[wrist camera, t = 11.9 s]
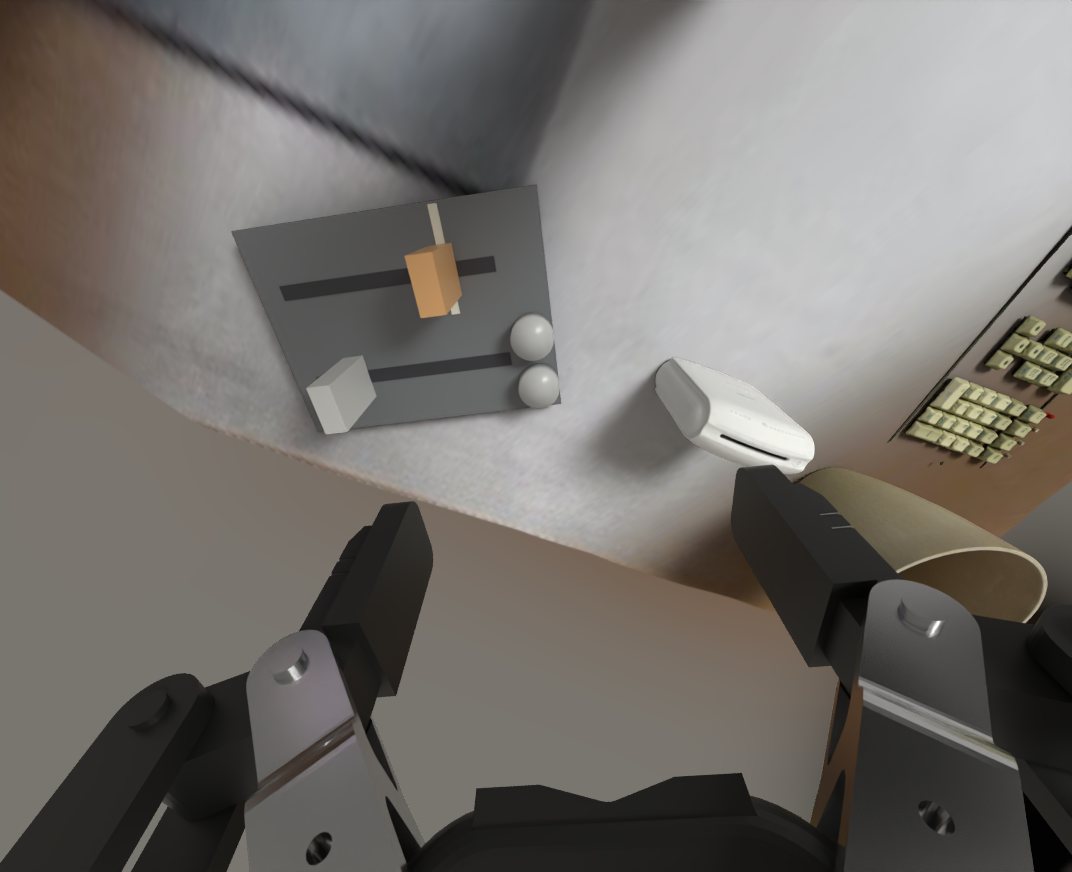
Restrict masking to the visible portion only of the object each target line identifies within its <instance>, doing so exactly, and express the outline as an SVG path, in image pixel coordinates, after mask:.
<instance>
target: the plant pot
mask: <svg viewBox="0 0 1072 872" xmlns="http://www.w3.org/2000/svg"><path fill="white" fill-rule="evenodd" d="M799 483H802V484H803V485H805V486H807V487H809V488H811V489H812V490H814V491H816V492H818V493H819V494H821V495H823V496H824V497H825V498H826V499H827V500H828V501H829V502H830V503H831V505H832V506H833V507H834V508H835V509H836V510H837V511H838V514H839V515H840V514H841V515H842V516H843V517H844V518H845V519H846V520H847V521H848V522H849V523H850V524H851V528H855V529H856V530H857V532H858V533H859V534H860V535H861V536H862V537H863V538H864V539H865V540H866V541H867V542H868V543H869V544H870V545H871V546H872V547H873V548H874V549H875V550H876V551H877V552H878V553H879V554H880V555H881V556H882V557H883V558H884V560H885V561H886V562H887V563H888V564H889V565H890V566H891V567H892V568H893V569H894V570H895V571H896V572H897V573H898V574H899V575H900V576H901V577H902V578H903V579H904V580H907V581H913V582H917V583H921V584H924V585H927V586H929V587H932V588H934V589H936V590H939V591H941V592H943V593H944V594H946V595H948V596H950V597H951V598H953V599H954V600H956V601H957V602H959V603H960V604H961V605H962V606H963V607H965V608H966V609H967V610H968V611H969V612H970V613H971V614H973V615H978V616H984V617H990V618H996V619H1002V620H1008V621H1014V622H1021V623H1026V622H1027V620H1029V619H1030V618H1031V616H1032V615H1033V614H1034V613H1035V612H1036V611H1037V609H1038V608H1039V606H1040V605H1041V602H1042V601H1043V599H1044V597H1045V594H1046V589H1047V576H1046V573H1045V571H1044V569H1043V567H1042V566H1041V565H1040V564H1039V563H1038V562H1037V561H1036V560H1035V559H1034V558H1032V557H1031V556H1029V555H1027V554H1026V553H1024V552H1022V551H1020V550H1019V549H1017V548H1015V547H1013V546H1012V545H1010V544H1008V543H1006V542H1005V541H1003V540H1001V539H1000V538H998V537H996V536H994V535H992V534H991V533H989V532H987V531H985V530H984V529H982V528H980V527H978V526H976V525H975V524H973V523H971V522H969V521H968V520H966V519H964V518H962V517H960V516H958V515H956V514H954V513H952V512H950V511H948V510H946V509H944V508H942V507H940V506H938V505H936V504H934V503H932V502H930V501H927V500H925V499H923V498H921V497H919V496H916V495H914V494H912V493H910V492H907V491H905V490H903V489H900V488H898V487H896V486H893V485H891V484H888V483H886V482H883V481H880V480H878V479H875V478H872V477H869V476H866V475H863V474H860V473H857V472H854V471H851V470H848V469H844V468H838V467H833V468H825V469H821V470H818V471H816V472H814V473H812V474H810V475H808V476H807V477H805V478H804V479H802V480H801V481H800V482H799Z"/></svg>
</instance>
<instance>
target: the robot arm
mask: <svg viewBox="0 0 1072 872" xmlns="http://www.w3.org/2000/svg"><path fill="white" fill-rule="evenodd" d="M731 525H732V531H733V535H734V538H735V540H736V542H737V544H738V546H739V548H740V549H741V551H742V553H743V555H744V556H745V558H746V560H747V561H748V563H749V565H750V567H751V568H752V570H753V572H754V574H755V575H756V577H757V579H758V580H759V582H760V584H761V586H762V587H763V589H764V591H765V593H766V594H767V596H768V598H769V599H770V601H771V603H772V605H773V606H774V608H775V610H776V611H777V613H778V615H779V616H780V618H781V620H782V622H783V624H784V625H785V627H786V628H787V630H788V632H789V634H790V635H791V637H792V639H793V641H794V643H795V644H796V646H797V648H798V649H799V651H800V653H801V655H802V656H803V658H804V660H805V661H806V663H807V665H808V666H809V667H819V666H832V667H833V669H834V671H835V673H836V674H837V676H838V677H839V680H838V683H837V686H836V690H835V697H834V703H833V709H832V715H831V721H830V727H829V733H828V739H827V745H826V751H825V757H824V763H823V769H822V774H821V780H820V784H819V788H818V791H817V795H816V799H815V802H814V807H813V811H812V815H811V820H810V823H808V822H807V821H805V820H804V819H802V818H801V817H799V816H797V815H796V814H794V813H792V812H790V811H788V810H786V809H784V808H782V807H780V806H778V805H776V804H773V803H770V802H768V801H766V800H763V799H760V798H757V797H753V796H750V795H749V792H748V790H747V787H746V784H745V781H744V778H743V776H742V773H733V774H716V775H699V776H682V777H673V778H671V779H668V780H666V781H663V782H661V783H658V784H656V785H653V786H651V787H648V788H646V789H643V790H641V791H638V792H636V793H633V794H631V795H628V796H626V797H623V798H621V799H618V800H616V801H613V802H603V801H598V800H595V799H591V798H587V797H584V796H580V795H576V794H572V793H568V792H564V791H561V790H557V789H553V788H550V787H546V786H542V785H528V786H513V787H512V786H511V787H493V788H478V789H476V798H475V807H474V811H472V812H470V813H467V814H465V815H463V816H462V817H460V818H458V819H456V820H454V821H453V822H451V823H450V824H448V825H447V826H446V827H444V828H443V829H442V830H440V831H439V832H438V833H436V834H435V835H434V836H433V837H432V838H431V839H430V840H429V841H428V842H427V843H425V842H424V839H423V837H422V835H421V832H420V830H419V828H418V826H417V824H416V822H415V819H414V818H413V815H412V813H411V811H410V809H409V807H408V805H407V803H406V800H405V798H404V796H403V793H402V791H401V788H400V785H399V783H398V780H397V778H396V775H395V773H394V770H393V767H392V765H391V762H390V760H389V757H388V755H387V752H386V749H385V747H384V744H383V742H382V739H381V737H380V734H379V731H378V729H377V727H376V724H375V722H374V719H373V718H372V715H371V714H372V711H373V708H374V704H375V701H376V698H377V697H387V696H396V694H397V690H398V687H399V684H400V680H401V677H402V673H403V669H404V666H405V663H406V659H407V656H408V652H409V648H410V645H411V641H412V638H413V635H414V630H415V628H416V624H417V620H418V617H419V613H420V610H421V606H422V603H423V600H424V596H425V592H426V589H427V586H428V582H429V578H430V575H431V571H432V567H433V552H432V547H431V543H430V540H429V537H428V534H427V531H426V528H425V525H424V522H423V519H422V516H421V513H420V510H419V508H418V505H417V504H416V503H415V502H414V501H412V502H403V503H402V502H401V503H392V504H385V505H383V506H382V508H381V509H380V512H379V513H378V515H377V517H376V519H375V521H374V523H373V525H372V526H365V527H363V528H362V529H361V530H360V531H359V532H358V533H357V534H356V535H355V536H354V537H353V538H352V539H351V540H350V541H349V542H348V544H347V546H346V547H345V549H344V551H343V553H342V555H341V556H340V558H339V559H340V561H339V562H337V564H336V565H335V567H334V569H333V571H332V576H330V577H329V578H328V580H327V582H326V584H325V585H324V587H323V589H322V591H321V593H320V594H319V596H318V598H317V600H316V601H315V603H314V605H313V607H312V609H311V611H310V612H309V614H308V616H307V618H306V620H305V621H304V623H303V625H302V627H301V629H300V630H299V632H296V633H293V634H290V635H288V636H286V637H284V638H283V639H281V640H279V641H278V642H276V643H275V644H273V645H272V646H271V647H270V648H268V649H267V650H266V651H265V652H264V653H263V654H262V656H260V658H259V659H258V660H257V662H256V663H255V664H254V666H253V667H252V669H251V671H249V672H246V673H244V674H241V675H238V676H235V677H233V678H230V679H227V680H225V681H222V682H219V683H217V684H214V685H211V686H208V687H206V688H205V687H203V685H202V684H201V683H200V682H199V681H198V679H197V678H196V677H195V676H193V675H191V674H186V673H183V674H176V675H172V676H168V677H166V678H163V679H161V680H159V681H157V682H155V683H153V684H151V685H150V686H148V687H146V688H145V689H143V690H142V691H140V692H139V693H138V694H136V695H135V696H134V697H132V698H131V699H130V700H129V701H128V702H127V703H126V704H125V705H124V706H123V707H122V708H121V709H120V710H119V711H118V712H117V713H116V714H115V715H114V717H113V718H112V719H111V720H110V721H109V723H108V724H107V725H106V727H105V728H104V729H103V731H102V732H101V733H100V735H99V736H98V737H97V739H96V740H95V741H94V742H93V744H92V745H91V746H90V747H89V749H88V750H87V751H86V753H85V754H84V755H83V757H82V758H81V759H80V760H79V762H78V763H77V764H76V766H75V767H74V768H73V769H72V771H71V772H70V773H69V775H68V776H67V777H66V779H65V780H64V781H63V783H62V784H61V785H60V786H59V788H58V789H57V790H56V792H55V793H54V794H53V795H52V797H51V798H50V799H49V801H48V802H47V803H46V804H45V806H44V807H43V808H42V810H41V811H40V812H39V814H38V815H37V816H36V817H35V819H34V820H33V821H32V823H31V824H30V825H29V827H28V828H27V829H26V830H25V832H24V833H23V834H22V836H21V837H20V838H19V840H18V841H17V842H16V843H15V845H14V846H13V847H12V849H11V850H10V851H9V853H8V854H7V855H6V856H5V858H4V859H3V860H2V862H1V863H0V872H122V870H123V868H124V866H125V864H126V862H127V861H128V859H129V857H130V856H131V854H132V852H133V851H134V849H135V847H136V846H137V844H138V842H139V840H140V838H141V837H142V835H143V833H144V832H145V830H146V828H147V827H148V825H149V823H150V821H151V820H152V818H153V816H154V814H155V813H156V811H157V809H158V808H159V806H160V804H161V802H163V803H164V804H166V805H167V806H168V807H167V809H166V811H165V813H164V814H163V816H162V818H161V820H160V821H159V823H158V825H157V827H156V828H155V830H154V832H153V834H152V836H151V838H150V839H149V841H148V843H147V844H146V846H145V848H144V850H143V851H142V853H141V855H140V857H139V858H138V861H137V862H136V864H135V866H134V868H133V869H132V871H131V872H226V871H227V869H228V867H229V864H230V862H231V860H232V857H233V855H234V853H235V850H236V848H237V845H238V843H239V841H240V838H241V836H242V834H243V831H244V829H246V840H247V851H248V861H249V872H1034V869H1033V862H1032V855H1031V849H1030V842H1029V835H1028V828H1027V821H1026V815H1025V808H1024V802H1023V794H1022V790H1023V791H1024V792H1025V794H1026V795H1027V797H1028V798H1029V799H1030V801H1031V802H1032V803H1033V804H1034V806H1035V807H1036V808H1037V809H1038V811H1039V812H1040V814H1041V815H1042V816H1043V817H1044V819H1045V820H1046V821H1047V823H1048V824H1049V825H1050V827H1051V828H1052V829H1053V831H1055V833H1056V834H1057V836H1058V837H1059V838H1060V840H1061V841H1062V842H1063V844H1064V845H1065V846H1066V848H1067V849H1068V850H1069V851H1070V853H1071V854H1072V605H1056V606H1053V607H1049V608H1048V609H1046V610H1045V611H1044V612H1043V614H1042V615H1041V617H1040V618H1039V619H1038V621H1037V623H1036V624H1035V625H1033V624H1027V623H1021V622H1014V621H1008V620H1002V619H996V618H990V617H984V616H978V615H973V614H971V613H970V612H969V611H968V610H967V609H966V608H965V607H963V606H962V605H961V604H960V603H959V602H957V601H956V600H954V599H953V598H951V597H950V596H948V595H946V594H944V593H943V592H941V591H939V590H936V589H934V588H932V587H929V586H927V585H924V584H921V583H917V582H913V581H907V580H904V579H903V578H902V577H901V576H900V575H899V574H898V573H897V572H896V571H895V570H894V569H893V568H892V567H891V566H890V565H889V564H888V563H887V562H886V561H885V560H884V558H883V557H882V556H881V555H880V554H879V553H878V552H877V551H876V550H875V549H874V548H873V547H872V546H871V545H870V544H869V543H868V542H867V541H866V540H865V539H864V538H863V537H862V536H861V535H860V534H859V533H858V532H857V530H856V529H855V528H851V524H850V523H849V522H848V521H847V520H846V519H845V518H844V517H843V516H842V515H841V514H840V515H839V514H838V511H837V510H836V509H835V508H834V507H833V506H832V505H831V503H830V502H829V501H828V500H827V499H826V498H825V497H824V496H823V495H821V494H819V493H818V492H816V491H814V490H812V489H811V488H809V487H807V486H805V485H803V484H802V483H794V484H792V483H791V482H790V481H789V480H788V479H787V477H786V476H785V475H784V474H783V473H782V472H781V471H780V470H779V469H778V468H777V467H776V466H775V465H762V466H752V467H743V468H739V469H738V471H737V473H736V479H735V488H734V496H733V505H732V513H731Z"/></svg>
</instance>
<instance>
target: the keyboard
mask: <svg viewBox="0 0 1072 872" xmlns="http://www.w3.org/2000/svg"><path fill="white" fill-rule="evenodd" d="M1070 235H1072V228H1071V229H1070V230H1069V232H1068V233H1067V234H1066V235H1065V236H1064V237H1063V239H1062V240H1061V241H1060V242H1059V243H1058V244H1057V246H1056V247H1055V248H1054V249H1053V250H1052V251H1051V252H1050V253H1049V255H1048V256H1047V257H1046V258H1045V259H1044V260H1043V262H1042V263H1041V264H1040V265H1039V266H1038V267H1037V269H1036V270H1035V271H1034V272H1033V273H1032V274H1031V276H1030V277H1029V278H1028V279H1027V280H1026V281H1025V283H1024V284H1023V285H1022V286H1021V287H1020V288H1019V290H1018V291H1017V292H1016V293H1015V294H1014V296H1013V297H1012V298H1011V299H1010V300H1009V301H1008V303H1007V304H1006V305H1005V306H1004V307H1003V308H1002V309H1001V311H1000V312H999V313H998V315H997V316H996V317H995V318H994V319H993V320H992V321H991V323H990V324H989V325H988V326H987V327H986V329H985V330H984V331H983V332H982V333H981V334H980V335H979V337H978V338H977V339H976V340H975V341H974V342H973V344H972V345H971V346H970V347H969V348H968V349H967V350H966V351H965V353H964V354H963V355H962V356H961V357H960V358H959V359H958V361H957V362H956V363H955V364H954V365H953V366H952V368H951V369H950V370H949V371H948V372H947V373H946V374H945V376H944V377H943V378H942V379H941V380H940V381H939V383H938V384H937V385H936V386H935V387H934V388H933V390H932V391H931V392H930V393H929V394H928V395H927V397H926V398H925V399H924V400H923V401H922V402H921V404H920V405H919V406H918V407H917V408H916V410H915V411H914V412H913V413H912V414H911V415H910V416H909V418H908V419H907V420H906V421H905V422H904V423H903V425H902V426H901V427H900V428H899V429H898V431H897V432H896V433H895V434H894V435H893V436H892V438H891V439H890V440H889V441H891V440H892V439H893V438H894V437H895V436H896V435H897V433H898V432H899V431H900V430H901V429H902V428H903V427H904V425H905V424H906V423H907V422H908V421H909V420H910V418H911V417H912V416H913V415H914V414H915V413H916V412H917V411H918V409H919V408H920V407H921V406H922V405H923V404H924V402H925V401H926V400H927V399H928V398H929V397H930V396H931V395H932V394H933V392H934V391H935V390H936V389H937V388H938V386H939V385H940V384H941V383H942V382H943V381H944V379H945V378H946V377H947V376H948V375H949V374H950V372H951V371H952V370H953V369H954V368H955V367H956V366H957V364H958V363H959V362H960V361H961V360H962V359H963V357H964V356H965V355H966V354H967V353H968V352H969V351H970V349H971V348H972V347H973V346H974V345H975V344H976V343H977V341H978V340H979V339H980V338H981V337H982V336H983V334H984V333H985V332H986V331H987V330H988V329H989V328H990V326H991V325H992V324H993V323H994V322H995V320H996V319H997V318H998V317H999V316H1000V315H1001V314H1002V312H1003V311H1004V310H1005V309H1006V308H1007V307H1008V306H1009V304H1010V303H1011V302H1012V301H1013V300H1014V299H1015V297H1016V296H1017V295H1018V294H1019V293H1020V292H1021V290H1022V289H1023V288H1024V287H1025V286H1026V285H1027V283H1028V282H1029V281H1030V280H1031V279H1032V278H1033V277H1034V276H1035V274H1036V273H1037V272H1038V271H1039V270H1040V269H1041V267H1042V266H1043V265H1044V264H1045V263H1046V262H1047V261H1048V259H1049V258H1050V257H1051V256H1052V255H1053V254H1054V253H1055V252H1056V251H1057V250H1058V248H1059V247H1060V246H1061V245H1062V244H1063V243H1064V242H1065V241H1066V239H1067V238H1068V237H1069V236H1070ZM1063 273H1064V274H1065V275H1066V277H1068V278H1071V279H1072V264H1071V265H1069V266H1067V267H1066V268H1065V269H1064V270H1063ZM1069 292H1071V293H1072V288H1071V289H1070V290H1069ZM1045 325H1046V324H1045V323H1044V322H1043V320H1040V319H1037V318H1035V317H1033V316H1031V315H1030V316H1028V317H1024V318H1023V320H1022V321H1021V323H1020V325H1019V326H1018V327H1017V328H1015V329H1014V331H1015V332H1014V333H1013V334H1009V336H1008V337H1007V338H1006V341H1005V342H1004V343H1003V344H1002V345H999V347H1000V348H999V349H998V350H997V351H994V353H992V354H991V358H990V359H989V360H988V361H986V362H984V363H985V366H988V367H990V368H993V369H995V370H999V369H1005V368H1006V367H1007V366H1008V365H1009V364H1010V363H1011V362H1012V361H1013V358H1012V355H1016V356H1018V357H1021V358H1023V362H1022V363H1021V364H1020V365H1019V366H1018V368H1016V370H1015V372H1012V374H1013V377H1016V378H1018V379H1021V380H1024V381H1026V382H1028V383H1031V384H1034V385H1036V386H1048V387H1047V390H1049V391H1052V392H1054V393H1057V394H1056V395H1054V396H1053V397H1052V399H1050V401H1049V402H1047V403H1045V404H1044V406H1043V407H1042V408H1041V409H1040V408H1037V407H1034V406H1032V405H1026V406H1024V404H1023V403H1022V402H1021V401H1019V400H1016V399H1013V398H1011V397H1009V396H1007V395H1003V394H1000V393H998V392H995V391H993V390H990V389H988V388H985V387H983V386H980V385H977V384H974V383H972V382H969V381H966V380H963V379H960V378H958V377H954V378H953V379H949V380H948V381H947V382H946V383H945V386H944V388H943V389H942V390H941V391H940V392H939V393H938V394H936V395H935V396H934V397H933V398H932V400H931V401H930V403H929V404H928V405H927V408H926V410H924V412H923V413H922V414H921V416H920V417H918V418H916V419H915V420H914V421H913V424H912V425H911V426H910V427H909V428H908V429H907V432H906V434H907V435H911V436H914V437H917V438H921V439H924V440H927V441H928V442H931V443H934V444H937V445H941V446H942V447H945V448H948V449H950V450H954V451H957V452H960V453H963V454H967V455H970V456H973V457H976V458H977V459H980V460H983V461H986V462H985V463H984V464H983V465H982V466H981V467H980V468H982V467H983V466H984V465H985V464H986V463H987V462H988V463H993V464H996V463H997V462H998V461H999V460H1000V459H1001V458H1002V457H1003V456H1005V457H1007V458H1010V457H1011V455H1009V454H1008V453H1005V454H1003V455H1002V454H1001V452H1000V450H1001V449H1002V450H1006V451H1009V450H1010V449H1011V448H1012V447H1013V446H1014V445H1015V444H1019V445H1023V444H1024V442H1023V441H1021V440H1017V441H1015V440H1014V438H1013V437H1024V436H1025V435H1026V434H1027V433H1028V432H1029V431H1033V432H1038V431H1039V429H1037V428H1036V427H1031V428H1030V427H1029V425H1028V423H1035V424H1038V423H1039V422H1040V421H1041V420H1042V419H1043V418H1044V417H1048V418H1050V419H1052V418H1055V416H1054V415H1051V414H1050V413H1049V412H1047V413H1044V412H1043V411H1042V410H1043V409H1044V408H1045V407H1046V406H1047V405H1048V404H1049V403H1050V402H1051V401H1052V400H1053V399H1054V398H1055V397H1056V396H1057V395H1058V394H1070V393H1071V392H1072V358H1071V357H1069V355H1070V354H1072V333H1071V332H1069V331H1066V330H1064V329H1062V328H1056V329H1052V330H1051V332H1050V333H1049V334H1048V335H1047V336H1046V337H1045V339H1043V340H1042V341H1038V342H1036V341H1033V340H1031V339H1030V338H1029V337H1032V336H1036V335H1037V334H1038V333H1039V332H1040V330H1041V329H1042V328H1043V327H1044V326H1045ZM1053 371H1059V372H1057V373H1056V374H1055V373H1053ZM1008 416H1016V417H1014V418H1013V420H1012V421H1011V419H1010V418H1009V417H1008ZM995 429H997V430H1001V431H1000V432H999V433H998V434H996V432H995V431H994V430H995ZM889 441H888V442H889ZM980 443H986V444H987V445H986V448H983V446H982V445H981V444H980ZM943 463H944V461H943V462H942V463H941V462H940V465H942V464H943Z"/></svg>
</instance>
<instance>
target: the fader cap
mask: <svg viewBox="0 0 1072 872" xmlns="http://www.w3.org/2000/svg"><path fill="white" fill-rule="evenodd" d="M405 260H406V264H407V268H408V271H409V275H410V279H411V283H412V287H413V291H414V294H415V298H416V302H417V306H418V310H419V314H420V317H421V318H427V317H434V316H442V315H447V313H448V312H449V311H450V310H451V308H452V307H453V306H454V305H455V303H456V302H457V301H458V300H459V298H460V297H461V296H462V291H461V286H460V282H459V277H458V272H457V267H456V263H455V258H454V253H453V248H452V243H451V242H450V243H444V244H437V245H430V246H427V247H424V248H422V249H420V250H417V251H415V252H413V253H410V254H408V255H406V256H405Z"/></svg>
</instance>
